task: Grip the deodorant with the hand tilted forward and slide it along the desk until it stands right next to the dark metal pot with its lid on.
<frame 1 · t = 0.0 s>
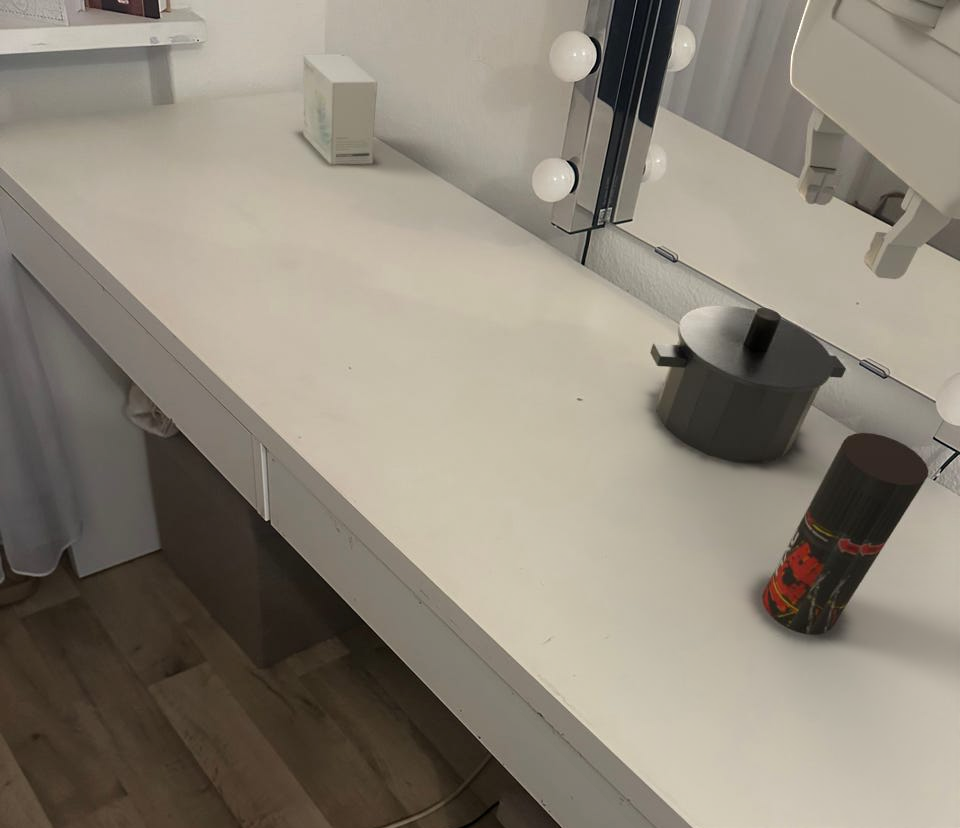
hand: (843, 233, 52), 28 cm above the table, tool pointing down, fingers open, 8 cm apart
pot: (722, 426, 90), on the table
deodorant: (794, 614, 73), on the table
pot lid: (754, 349, 84), point 8 cm above the table, touching pot
cosmetics box: (336, 154, 124), on the table
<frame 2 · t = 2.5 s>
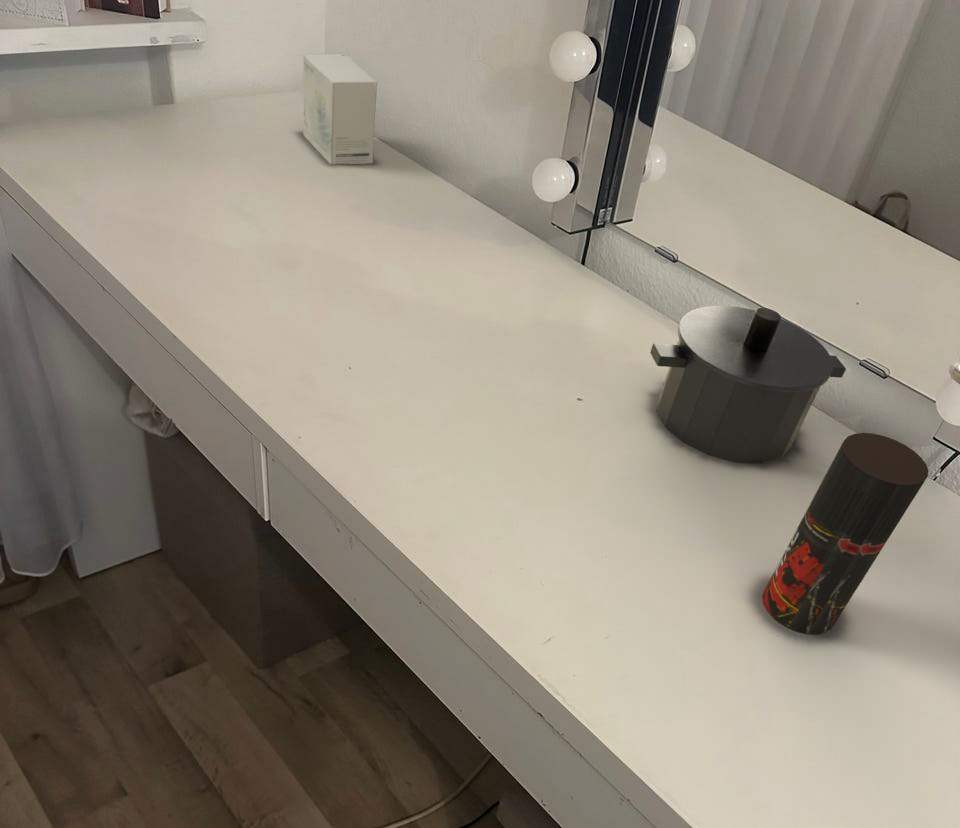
nothing on the table moved.
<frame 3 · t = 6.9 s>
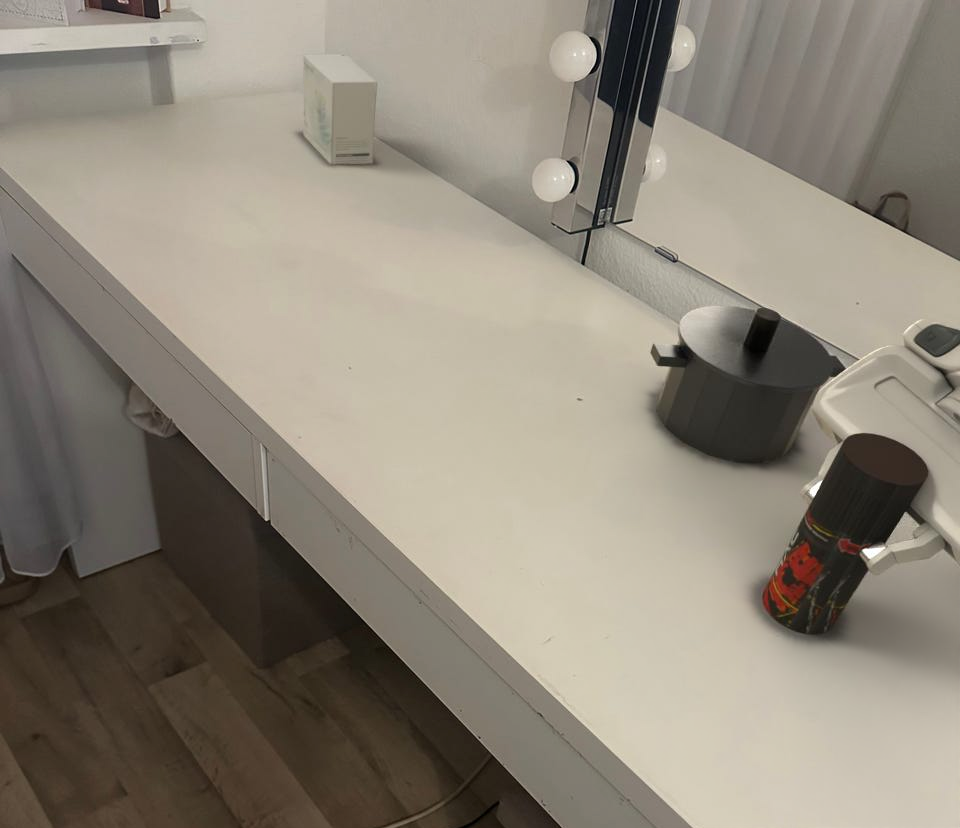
hand: (835, 532, 66), 8 cm above the table, tool tilted 45°, fingers closed on deodorant, 6 cm apart
deodorant: (794, 614, 73), on the table, touching gripper
everything else where it was.
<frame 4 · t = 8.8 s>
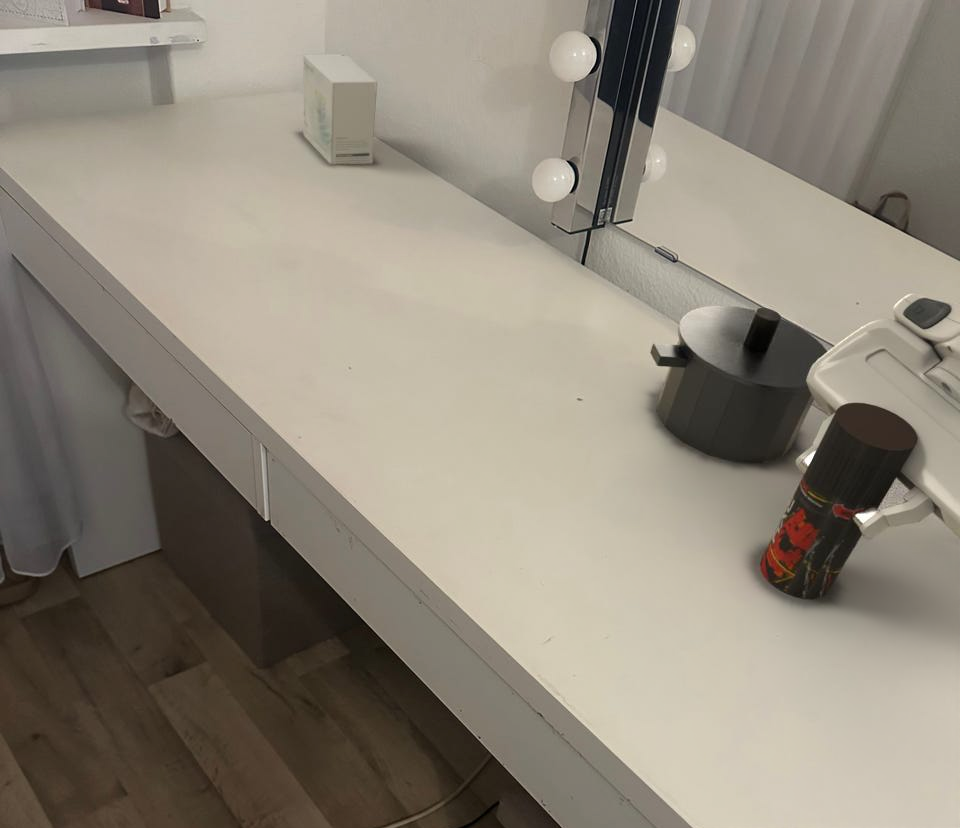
hand: (829, 499, 69), 8 cm above the table, tool tilted 45°, fingers closed on deodorant, 6 cm apart
deodorant: (791, 580, 75), on the table, touching gripper
everything else where it was.
when the fingers open (8 cm above the table, at t = 11.0 s): deodorant stays where it is, on the table.
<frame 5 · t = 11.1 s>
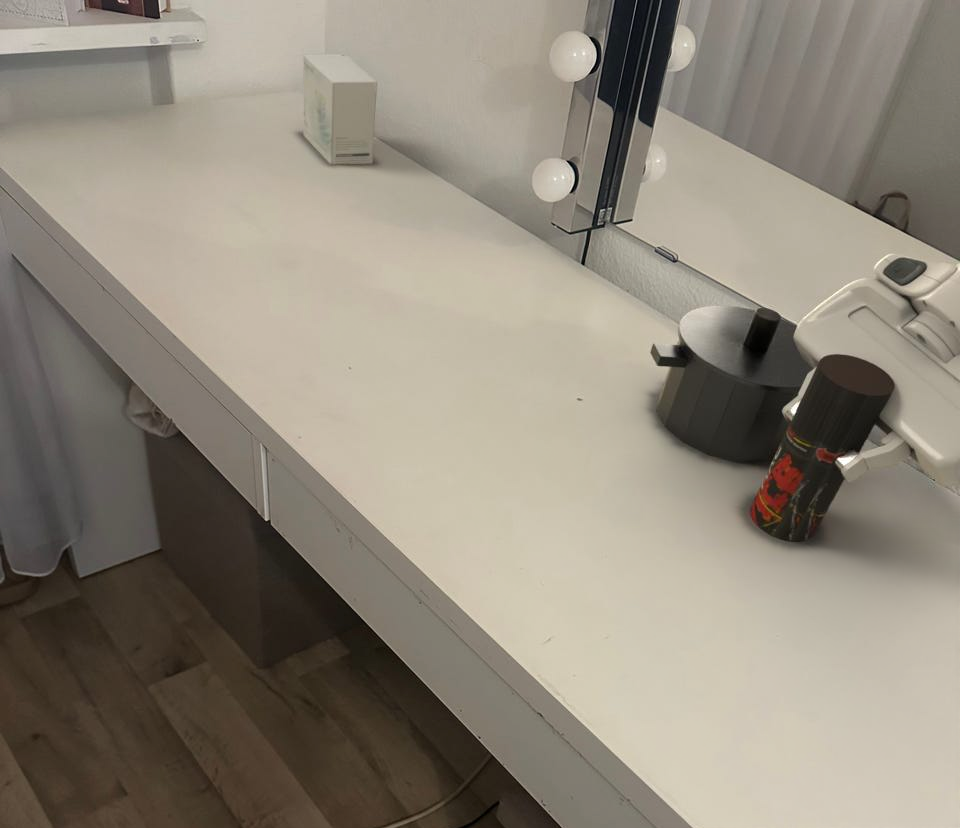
hand: (813, 445, 74), 8 cm above the table, tool tilted 45°, fingers open, 6 cm apart
deodorant: (779, 526, 80), on the table
everything else where it was.
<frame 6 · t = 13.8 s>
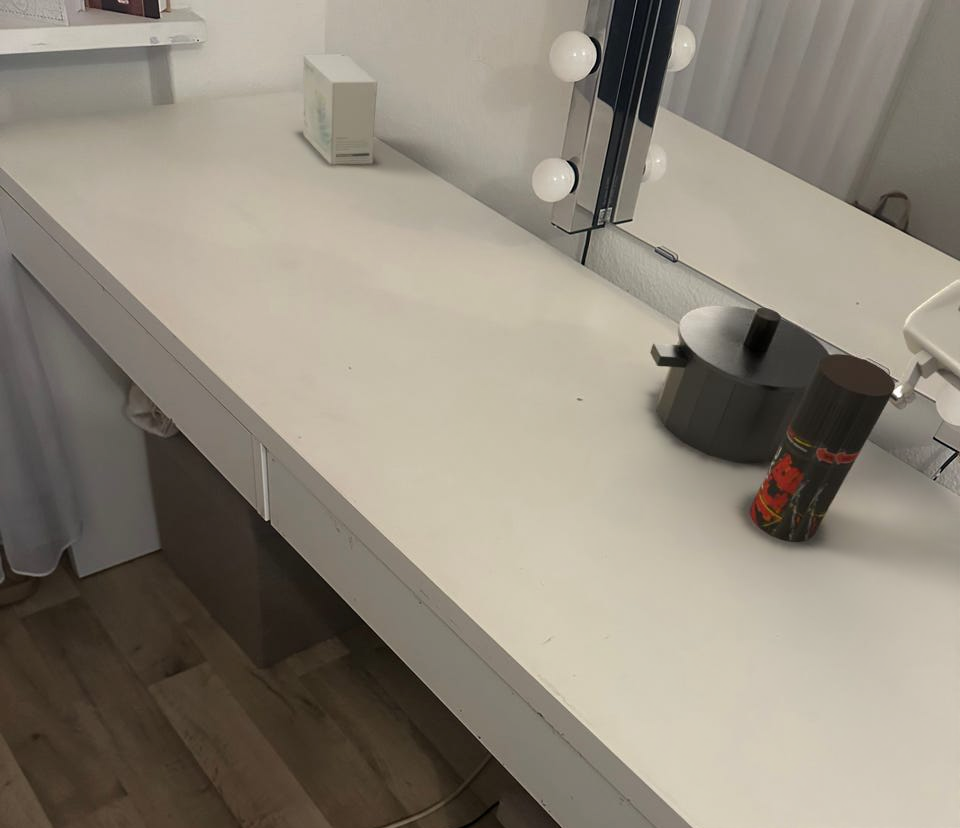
hand: (926, 432, 78), 9 cm above the table, tool tilted 45°, fingers open, 8 cm apart
nothing on the table moved.
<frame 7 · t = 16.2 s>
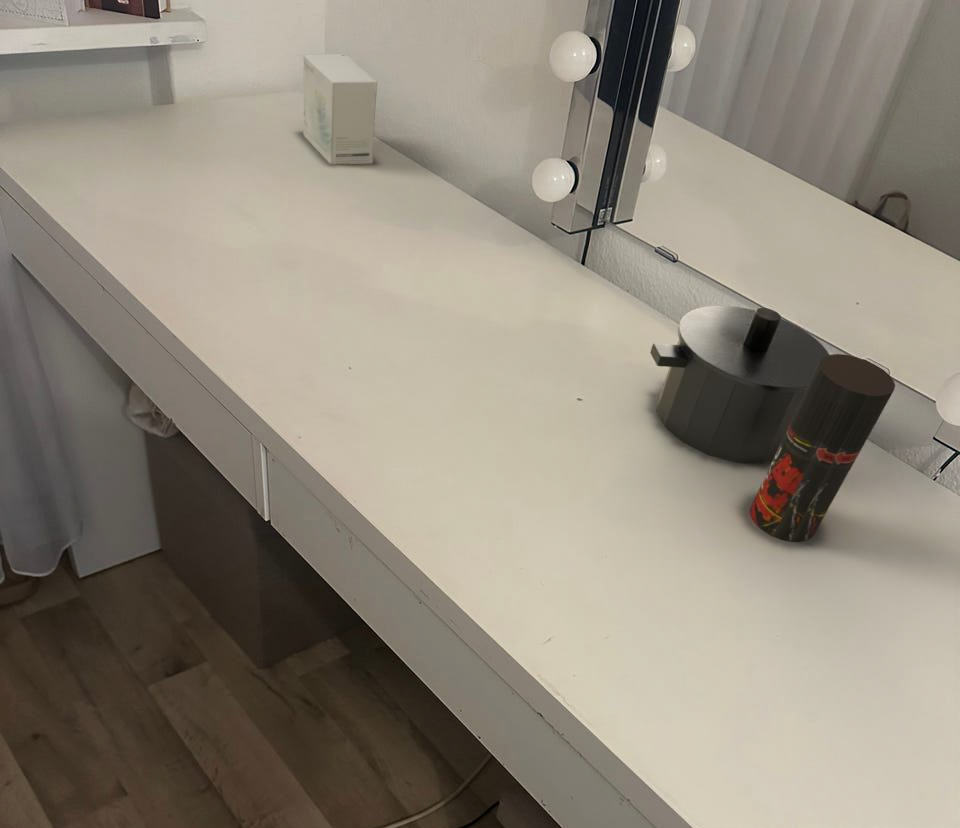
nothing on the table moved.
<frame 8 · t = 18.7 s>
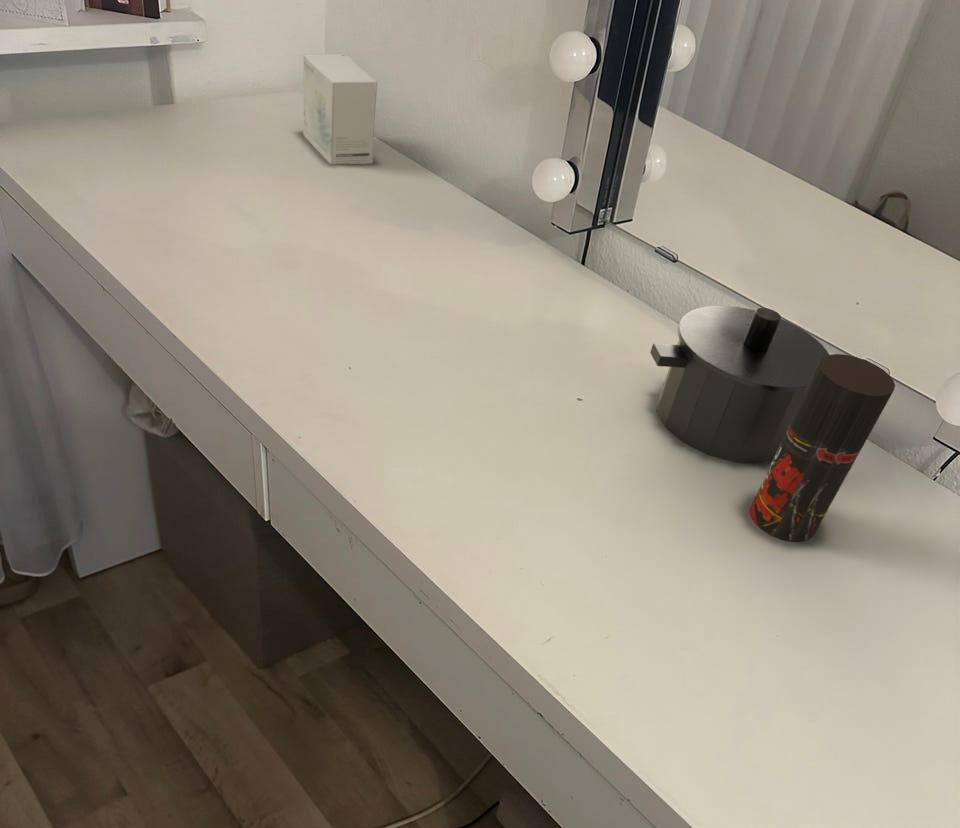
nothing on the table moved.
at the end: deodorant inside the target area on the table beside the pot (0.4 cm from its centre), on the table; deodorant tilted 0°; the gripper is holding nothing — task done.
